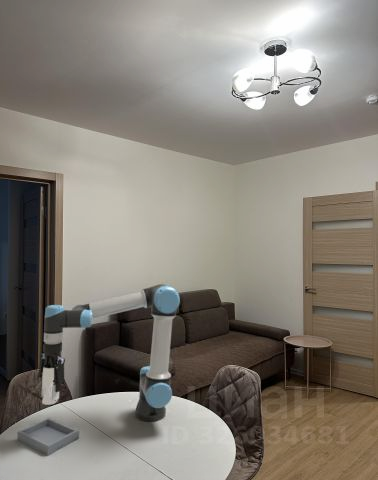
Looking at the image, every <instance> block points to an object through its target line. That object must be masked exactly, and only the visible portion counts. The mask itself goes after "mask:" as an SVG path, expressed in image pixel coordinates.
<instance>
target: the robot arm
mask: <svg viewBox="0 0 378 480" xmlns="http://www.w3.org/2000/svg"><path fill="white" fill-rule="evenodd" d="M180 300H181V298H180V294H179V293H178V291H177V290H176V289H175V288H174V287H172V286H170V285H166V284H156V285H153V286H150V287H147V288H142V289H141V290H140V291H137V292H135V293H133V292H132V293H129V294H126V295H125V294H124V295H120V296H116V297H112V298H106V299H101V300H99V301H94V302H90V303H89V302H88V303H84V304H76V305H75V306H73V307H72V309H69V310H68V309H67V310H66V309H65V307H64V305H61V304H52V305H47V306H46V307H45V309H44V310H45V312H44V313H45V314H44V325H43V327H44V329H43V342H44V343H43V346H42V352H43V353H41V354H39V368H38V378H40V380H41V397H42V398H43V396H44V390H43V382H42V375H43V366H44V365H45V368H50V367H51V368H54V382H55V383H54V384H53V397H52V400H53V401H54V400H56V399H58V400H59V399H60V391H61V384H62V383H64V382H65V362H66V358H63V357H61V352H62V350H63V342H62V341H64V340H63V339H64V338H63V337H64V336H63V334H64V332H63V331H64V330H63V329H75V328H76V329H78V328H79V329H80V328H82V329H85V328H91V327H92V324H93V319H97V318H98V319H99V318H101V317H107V316H111V315H115V314H119V313H123V312H128V311H131V310H136V309H140V308H144V309H149V308H151V313H150V315H151V316H152V317H153V325H152V326H153V329H152V337H151V338H152V339H151V340H152V341H151V348H150V360H149V361H150V363H149V365H147V366H143V367H142V368H140V372H139V394H138V395H139V396H138V397H139V398H138V401H137V404H136V408H135V409H134V410H135V412H134V416H135V418H136V419H138V420H139V421H144V422H155V421H156V420H157V421H160V420H162V419H164V418H165V417H166V415H165V414H167V412H166V411H167V409H166V406H167V405H168V404H169V403H170V402H171V400H172V397H173V390H172V388H171V382H172V381H171V378H172V374H171V373H170V372H169V365H170V354H171V341H172V329H173V320H174V319H175V318H176V316H177V311H178V310H177V309H178V308H179V306H180V302H181V301H180ZM56 364H57V365H56ZM56 367H57V368H56ZM57 380H58V381H57ZM164 416H165V417H164ZM163 417H164V418H163ZM161 418H162V419H161ZM159 419H160V420H159Z"/></svg>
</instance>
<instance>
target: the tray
mask: <svg viewBox="0 0 378 480" xmlns="http://www.w3.org/2000/svg"><path fill="white" fill-rule="evenodd" d="M79 436H80V429H79V430H78V429H76V428H74V427H71V426H69V425H68V424H65V423H62V422H59V421H57V420H55V419H53V418H50V417H47V418H45V419H43V420H40V421H38V422H36V423H34V424H31V425H29V426H27V427H24V428H23V429H20V430H18V431H17V436H16V437H17V439H16V440H17V441H18V442H20V443H22V444H24V445H26V446H28V447H30V448H32V449H34V450H36V451H38V452H40V453H42V454H44V455H46V456H50V455H52V454H53V453H55V452H58V451H59V450H62V449H63V448H65V447H66V446H68V445H70V444H73V442H76V441H78V440H79Z"/></svg>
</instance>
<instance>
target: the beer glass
mask: <svg viewBox="0 0 378 480" xmlns="http://www.w3.org/2000/svg"><path fill="white" fill-rule="evenodd" d="M56 365H57V364H56ZM56 368H57V367H56ZM57 381H58V380H57ZM42 382H43V390H44V396H43V397H42V400H41V403H42V405H45V406H46V405H47V406H49V405H50V406H51V405H54V404H56V403H58V401H59V399H56V400H54V401H53V400H52V397H53V384H54V383H55V382H54V368H51V367H50V368H45V365H44V366H43V375H42V380H41V383H42Z"/></svg>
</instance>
